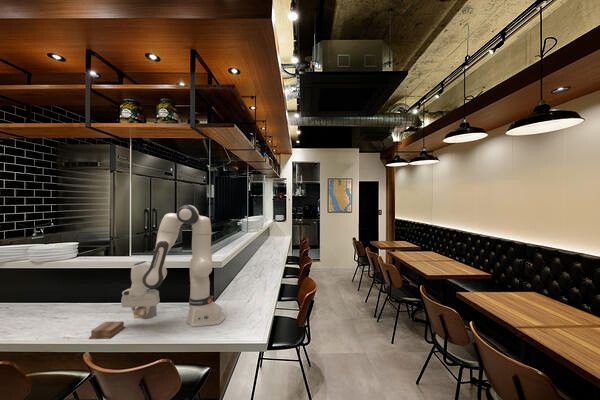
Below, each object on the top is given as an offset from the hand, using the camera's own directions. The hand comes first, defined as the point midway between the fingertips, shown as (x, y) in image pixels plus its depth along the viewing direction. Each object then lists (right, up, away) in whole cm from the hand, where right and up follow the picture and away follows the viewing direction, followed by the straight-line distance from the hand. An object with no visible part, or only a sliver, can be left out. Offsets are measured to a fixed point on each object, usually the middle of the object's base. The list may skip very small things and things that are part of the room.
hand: (141, 313), depth 142 cm
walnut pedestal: (-13, -7, -8) cm, 17 cm away
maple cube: (0, -2, 0) cm, 2 cm away
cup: (-4, -8, +13) cm, 16 cm away
